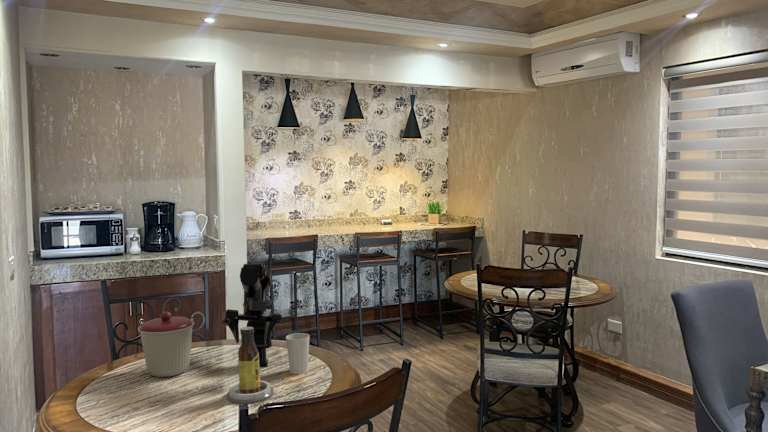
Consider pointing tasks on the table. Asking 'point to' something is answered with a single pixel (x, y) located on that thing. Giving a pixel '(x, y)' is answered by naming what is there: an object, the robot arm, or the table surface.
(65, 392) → the table surface
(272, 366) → the table surface
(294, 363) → the cup
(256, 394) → the grey shallow dish
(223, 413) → the table surface
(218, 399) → the table surface
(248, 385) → the sauce bottle
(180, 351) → the canister
